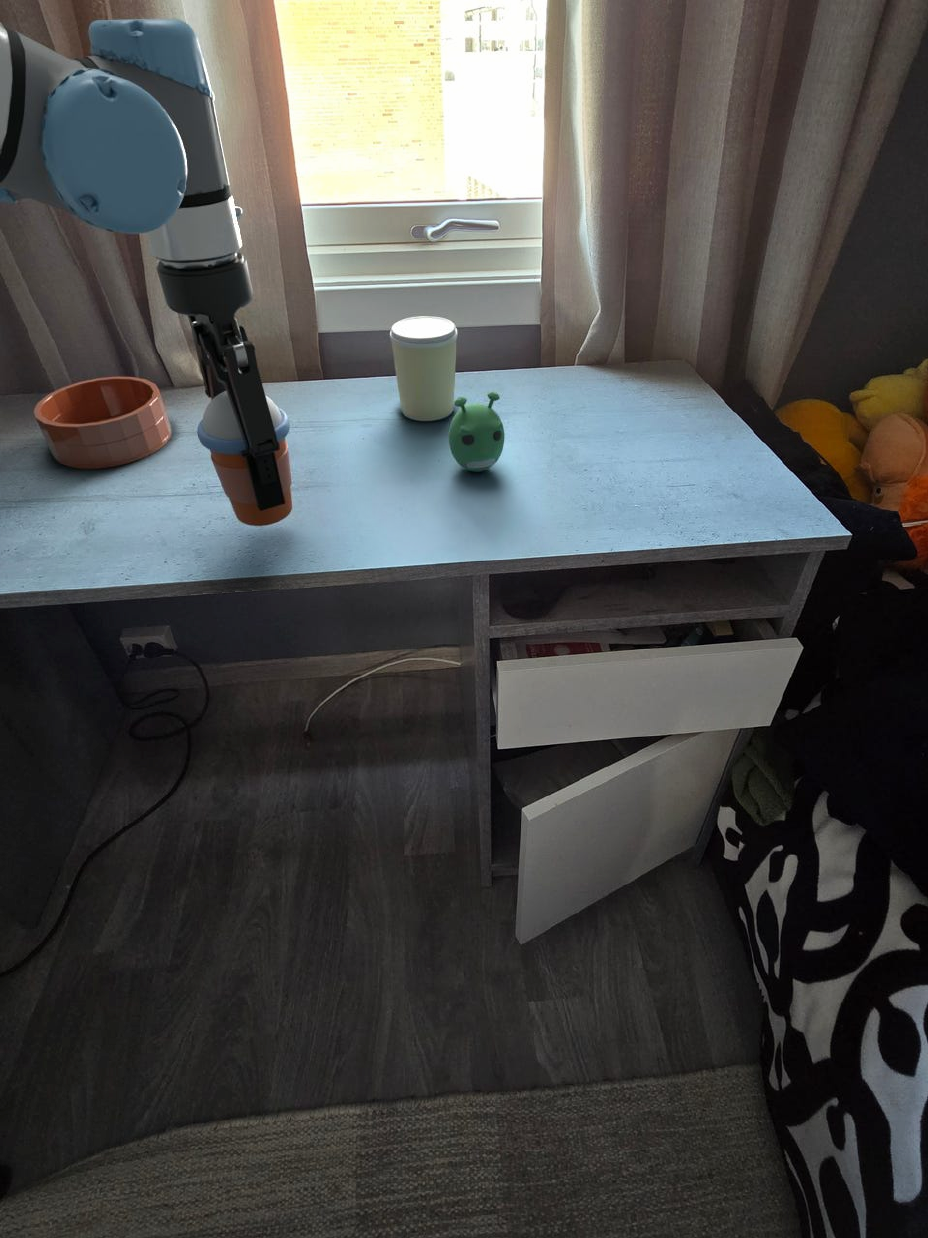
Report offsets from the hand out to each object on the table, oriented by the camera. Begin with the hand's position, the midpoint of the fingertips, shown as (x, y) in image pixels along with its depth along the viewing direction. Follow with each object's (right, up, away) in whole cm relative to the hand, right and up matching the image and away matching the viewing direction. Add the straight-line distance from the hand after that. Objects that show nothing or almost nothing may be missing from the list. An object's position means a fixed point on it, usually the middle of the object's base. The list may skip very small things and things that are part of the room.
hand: (256, 484), depth 74 cm
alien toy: (+24, +5, +15) cm, 29 cm away
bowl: (-27, +10, +22) cm, 36 cm away
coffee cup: (+17, +17, +28) cm, 37 cm away
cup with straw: (0, -3, +2) cm, 4 cm away
